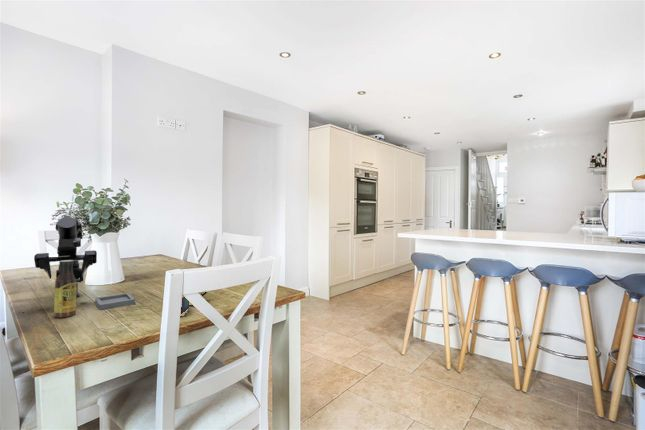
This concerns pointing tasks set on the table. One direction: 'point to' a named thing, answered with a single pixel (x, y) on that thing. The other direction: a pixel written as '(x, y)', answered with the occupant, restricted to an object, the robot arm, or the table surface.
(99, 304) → the keeper tray
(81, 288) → the table surface
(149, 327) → the table surface
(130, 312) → the table surface
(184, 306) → the flask
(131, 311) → the table surface
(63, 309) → the sauce bottle
